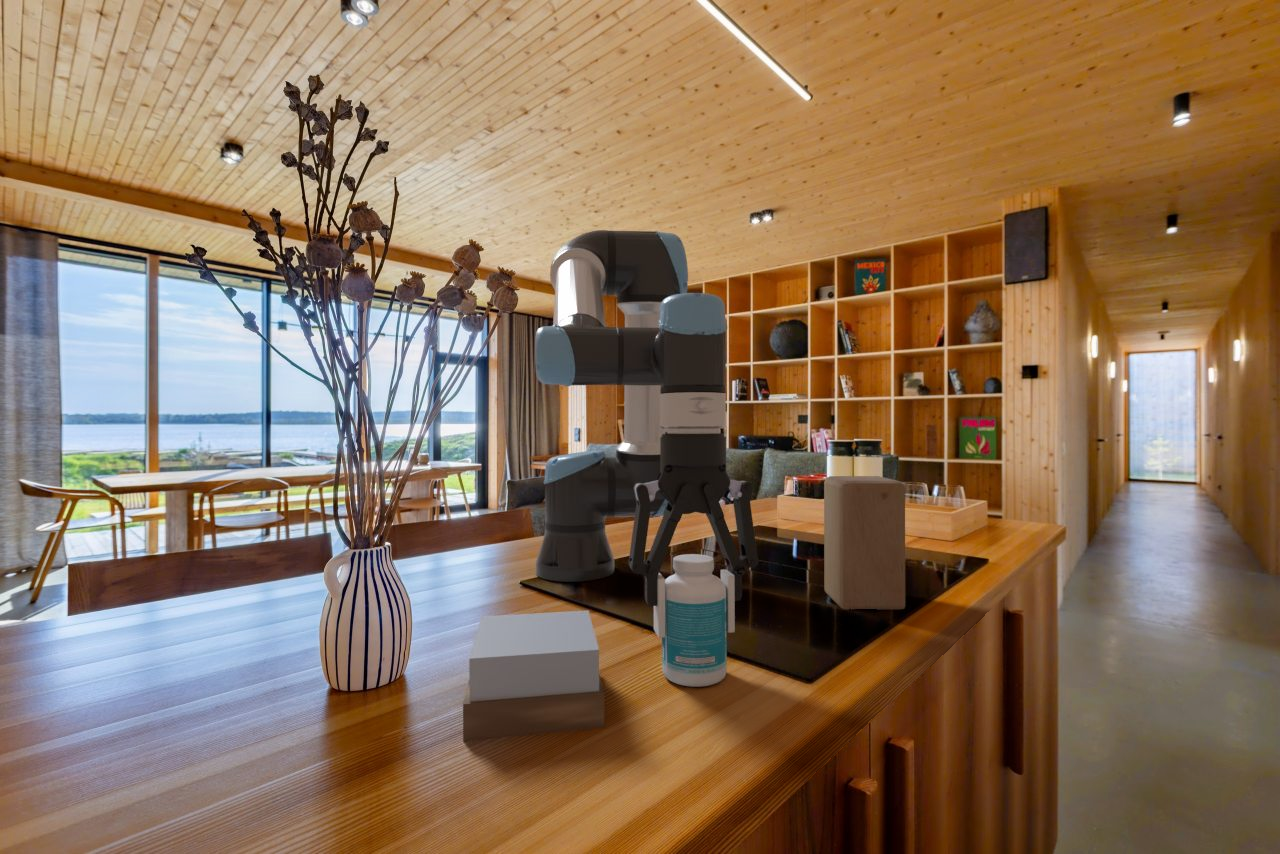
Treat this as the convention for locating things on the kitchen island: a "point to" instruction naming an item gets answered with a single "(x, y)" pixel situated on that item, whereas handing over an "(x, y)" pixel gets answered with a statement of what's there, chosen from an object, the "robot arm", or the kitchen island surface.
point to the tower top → (533, 656)
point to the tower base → (532, 714)
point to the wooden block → (864, 542)
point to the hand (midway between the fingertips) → (693, 630)
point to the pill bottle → (694, 623)
